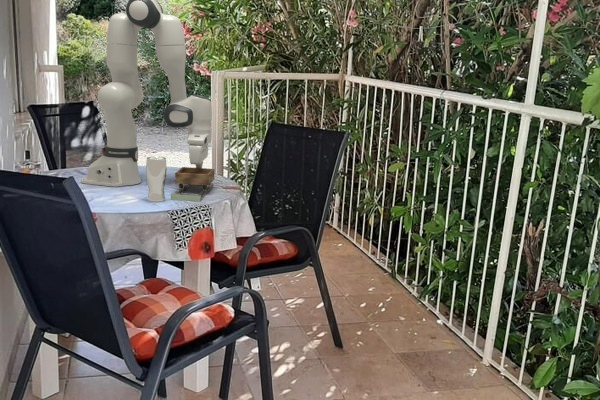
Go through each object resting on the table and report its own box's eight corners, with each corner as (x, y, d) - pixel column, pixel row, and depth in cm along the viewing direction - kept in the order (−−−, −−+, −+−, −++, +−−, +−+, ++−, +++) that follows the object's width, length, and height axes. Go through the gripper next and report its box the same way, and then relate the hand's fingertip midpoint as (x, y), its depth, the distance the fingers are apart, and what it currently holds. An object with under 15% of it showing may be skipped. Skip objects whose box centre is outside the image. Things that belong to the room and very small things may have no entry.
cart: (175, 189, 225) (175, 172, 224) (182, 182, 238) (182, 167, 236) (208, 191, 225) (208, 175, 224) (214, 184, 237) (214, 168, 236)
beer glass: (170, 200, 213) (170, 158, 210) (152, 203, 208) (152, 160, 205) (159, 196, 218) (159, 155, 215) (142, 199, 213) (142, 157, 210)
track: (170, 199, 215) (170, 194, 214) (186, 183, 241) (186, 179, 241) (200, 201, 215) (200, 195, 214) (213, 185, 241) (213, 180, 241)
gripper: (196, 133, 245) (196, 166, 248) (186, 140, 225) (185, 176, 228) (212, 134, 245) (211, 167, 248) (203, 141, 225) (202, 177, 228)
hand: (199, 172), depth 238 cm, fingers closed
